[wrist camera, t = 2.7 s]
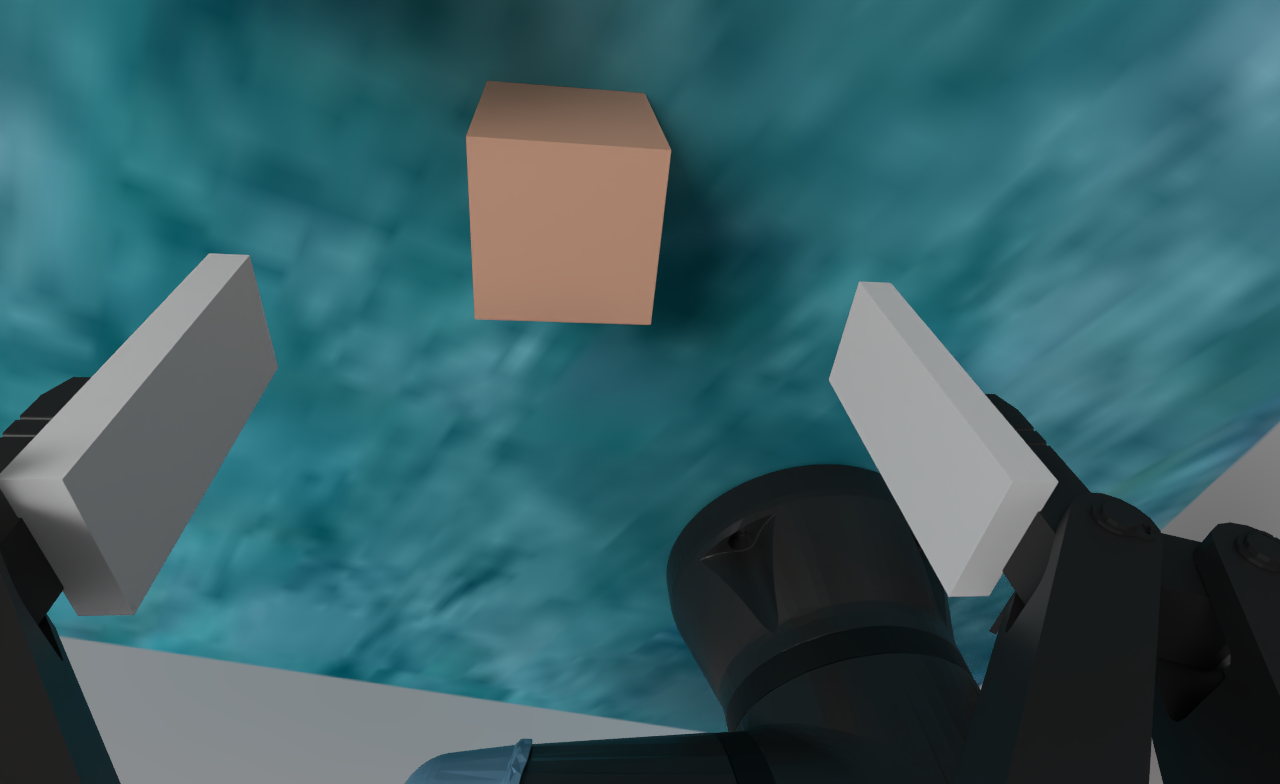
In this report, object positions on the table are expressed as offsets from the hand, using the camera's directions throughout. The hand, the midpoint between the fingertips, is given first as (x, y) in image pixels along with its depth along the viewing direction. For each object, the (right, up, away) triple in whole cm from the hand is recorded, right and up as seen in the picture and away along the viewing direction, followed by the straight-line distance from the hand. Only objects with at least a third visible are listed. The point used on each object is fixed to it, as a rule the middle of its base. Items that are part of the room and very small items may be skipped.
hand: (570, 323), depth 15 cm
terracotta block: (-1, +7, +10) cm, 13 cm away
